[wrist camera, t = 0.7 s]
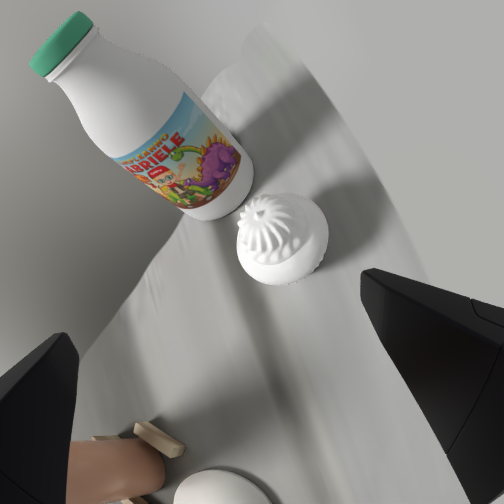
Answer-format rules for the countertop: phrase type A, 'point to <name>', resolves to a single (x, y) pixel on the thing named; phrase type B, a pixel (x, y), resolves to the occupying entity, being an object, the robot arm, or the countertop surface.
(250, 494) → the white disc
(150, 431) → the wooden blocks
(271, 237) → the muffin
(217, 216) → the milk bottle
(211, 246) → the countertop surface
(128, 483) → the salmon tan cylinder
